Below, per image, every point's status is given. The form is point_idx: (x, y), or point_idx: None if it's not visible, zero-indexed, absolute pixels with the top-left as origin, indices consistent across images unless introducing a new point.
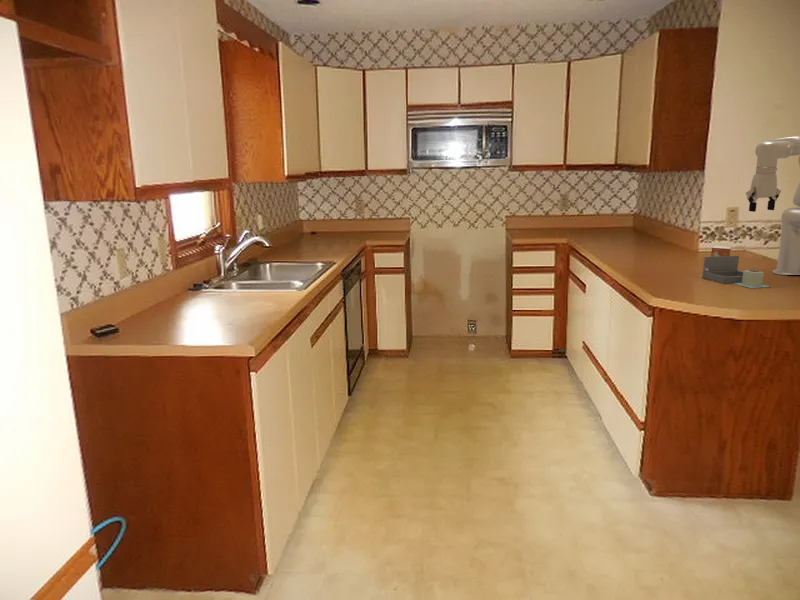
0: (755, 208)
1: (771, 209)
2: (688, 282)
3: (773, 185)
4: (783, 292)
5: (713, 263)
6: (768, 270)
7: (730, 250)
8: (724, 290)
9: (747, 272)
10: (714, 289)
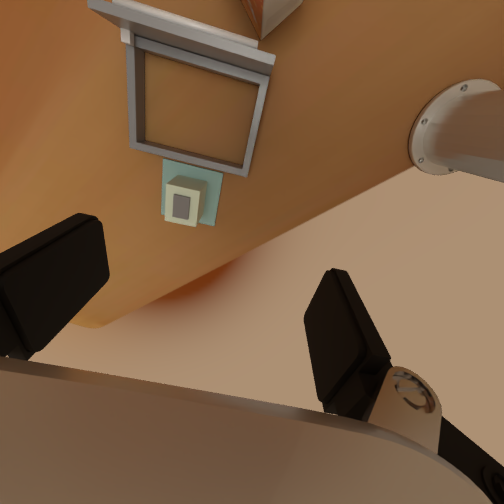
0: (82, 298)
1: (309, 310)
2: (42, 71)
3: None
4: (194, 262)
5: (151, 33)
6: (494, 44)
7: (265, 1)
8: (85, 200)
9: (166, 198)
10: (67, 182)
